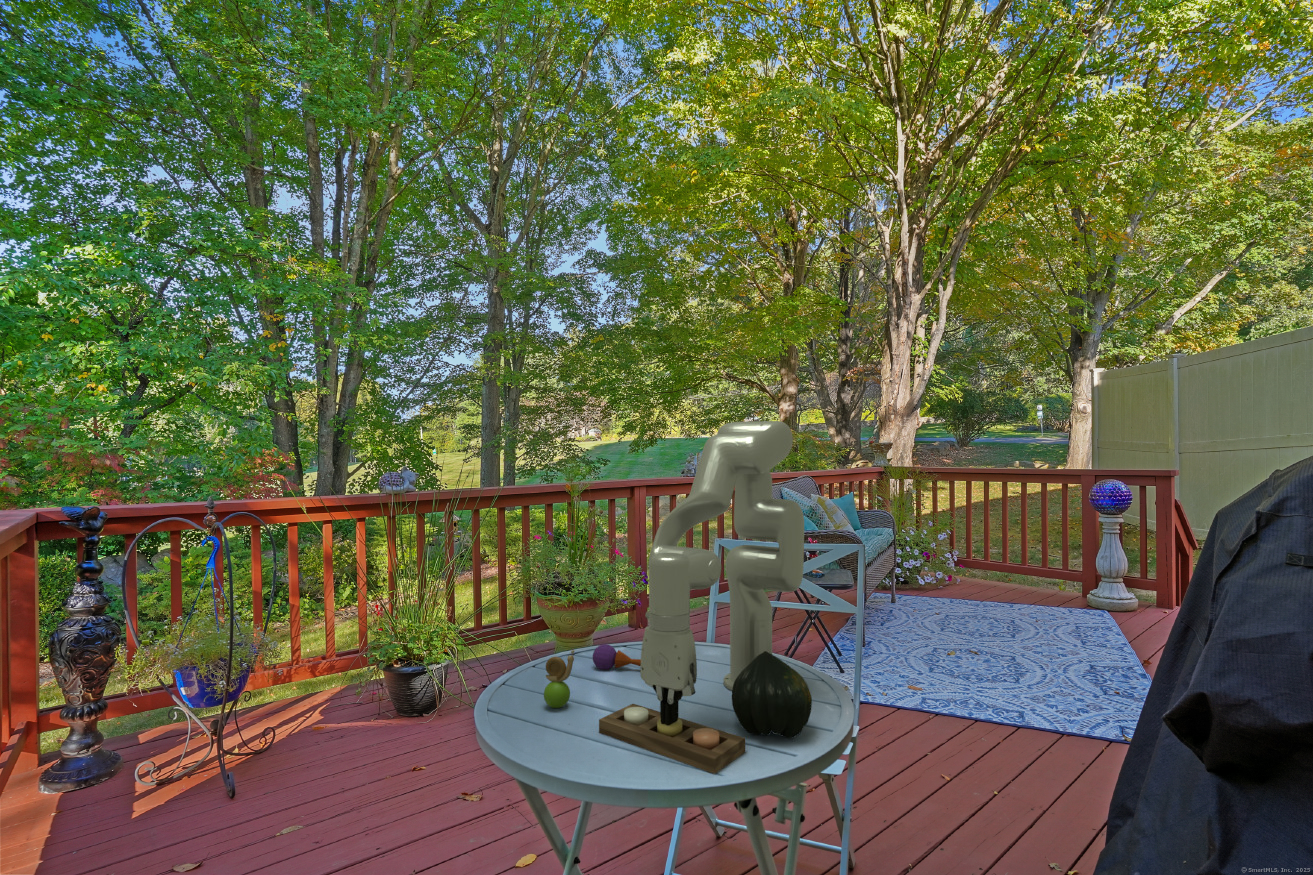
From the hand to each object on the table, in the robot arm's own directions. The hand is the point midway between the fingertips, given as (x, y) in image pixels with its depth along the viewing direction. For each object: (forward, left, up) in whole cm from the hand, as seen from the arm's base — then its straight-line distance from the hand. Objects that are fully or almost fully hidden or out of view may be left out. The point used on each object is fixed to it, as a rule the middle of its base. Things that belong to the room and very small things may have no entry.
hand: (669, 721), depth 121 cm
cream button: (0, -8, -2) cm, 8 cm away
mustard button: (0, 0, -2) cm, 2 cm away
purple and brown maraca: (-26, -31, -4) cm, 41 cm away
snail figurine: (+1, -28, -4) cm, 28 cm away
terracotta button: (0, +8, -2) cm, 8 cm away
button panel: (0, 0, -4) cm, 4 cm away
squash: (-16, +12, -4) cm, 21 cm away
